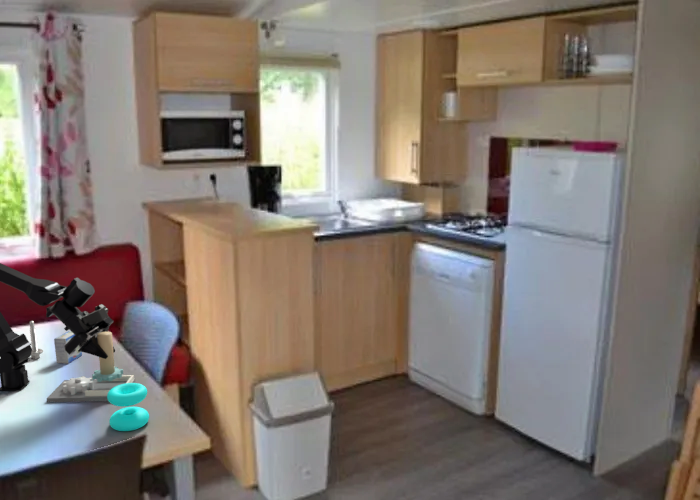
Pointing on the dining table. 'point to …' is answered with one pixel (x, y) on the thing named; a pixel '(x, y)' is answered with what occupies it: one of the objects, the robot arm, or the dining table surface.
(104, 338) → the gear
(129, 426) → the donuts
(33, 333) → the screw
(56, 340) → the medicine box
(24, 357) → the robot arm
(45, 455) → the dining table surface
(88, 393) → the carrier plate
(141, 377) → the dining table surface
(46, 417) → the dining table surface
